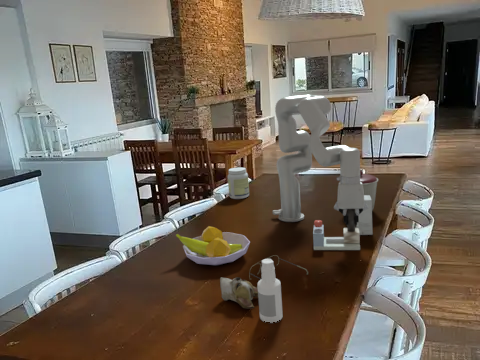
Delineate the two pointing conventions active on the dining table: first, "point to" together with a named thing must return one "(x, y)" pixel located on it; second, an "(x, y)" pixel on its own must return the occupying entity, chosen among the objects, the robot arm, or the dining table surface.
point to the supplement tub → (238, 183)
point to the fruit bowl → (215, 247)
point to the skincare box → (366, 218)
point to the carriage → (351, 228)
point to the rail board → (338, 246)
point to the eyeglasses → (277, 264)
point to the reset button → (318, 223)
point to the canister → (369, 186)
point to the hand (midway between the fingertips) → (351, 223)
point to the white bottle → (269, 293)
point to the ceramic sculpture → (238, 291)
